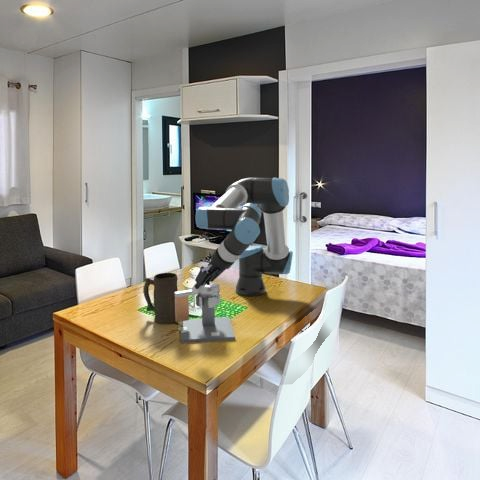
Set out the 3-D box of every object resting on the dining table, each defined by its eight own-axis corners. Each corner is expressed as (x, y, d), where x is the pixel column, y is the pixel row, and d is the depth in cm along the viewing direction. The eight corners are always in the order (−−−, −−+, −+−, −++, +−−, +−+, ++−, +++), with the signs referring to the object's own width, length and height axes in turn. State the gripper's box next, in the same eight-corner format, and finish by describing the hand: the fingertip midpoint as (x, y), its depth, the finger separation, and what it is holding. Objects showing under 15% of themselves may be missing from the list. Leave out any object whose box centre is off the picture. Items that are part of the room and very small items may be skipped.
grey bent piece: (214, 310, 171) (213, 281, 169) (223, 317, 163) (223, 287, 161) (172, 317, 163) (171, 287, 161) (180, 325, 155) (179, 293, 153)
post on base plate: (229, 319, 173) (229, 289, 171) (235, 339, 154) (235, 306, 151) (178, 322, 170) (178, 291, 168) (178, 343, 151) (177, 308, 148)
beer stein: (183, 315, 178) (179, 271, 175) (179, 324, 168) (174, 278, 164) (149, 316, 179) (144, 273, 175) (142, 326, 169) (137, 280, 165)
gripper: (218, 266, 132) (185, 304, 146) (245, 259, 142) (212, 295, 156) (206, 248, 135) (175, 287, 149) (234, 242, 144) (202, 279, 158)
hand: (194, 291), depth 152 cm, fingers closed
